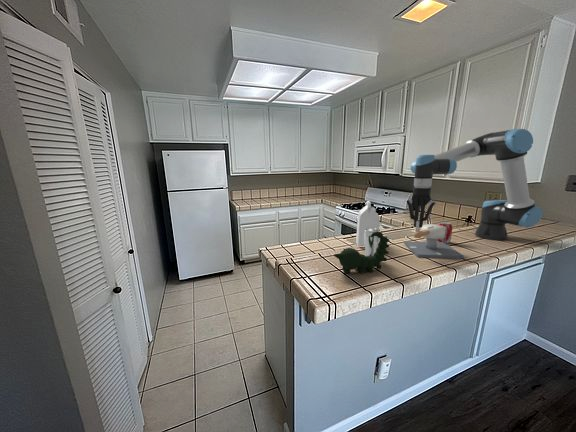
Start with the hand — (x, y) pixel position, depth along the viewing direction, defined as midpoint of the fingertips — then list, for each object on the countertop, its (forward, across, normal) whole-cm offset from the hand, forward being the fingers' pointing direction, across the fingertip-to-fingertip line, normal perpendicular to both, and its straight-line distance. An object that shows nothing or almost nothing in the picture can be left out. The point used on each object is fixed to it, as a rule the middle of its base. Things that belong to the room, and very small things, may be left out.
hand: (417, 233), depth 116 cm
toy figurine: (+12, -12, -37) cm, 40 cm away
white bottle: (+3, +3, +6) cm, 7 cm away
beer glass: (+12, -15, -20) cm, 28 cm away
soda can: (+12, +7, +30) cm, 33 cm away
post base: (+11, +5, +11) cm, 16 cm away
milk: (+12, -26, -1) cm, 29 cm away
